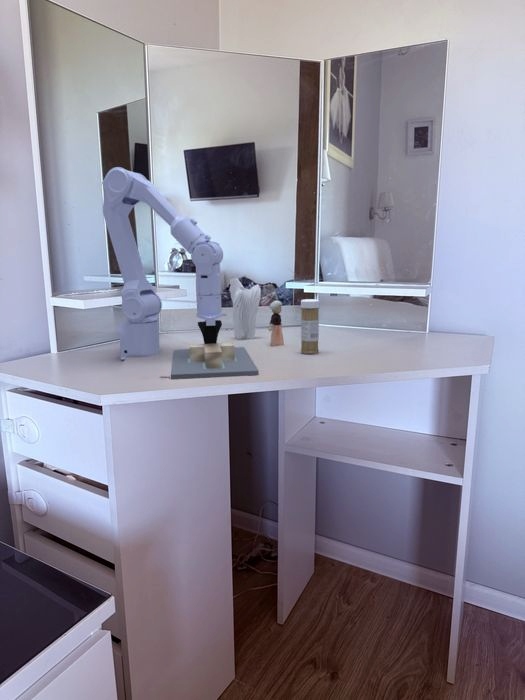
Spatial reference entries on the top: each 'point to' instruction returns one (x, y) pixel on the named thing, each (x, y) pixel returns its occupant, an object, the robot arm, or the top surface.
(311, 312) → the sprinkles bottle
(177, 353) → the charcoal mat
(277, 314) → the grandmother figurine
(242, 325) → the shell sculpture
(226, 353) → the maple T block
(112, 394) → the top surface
